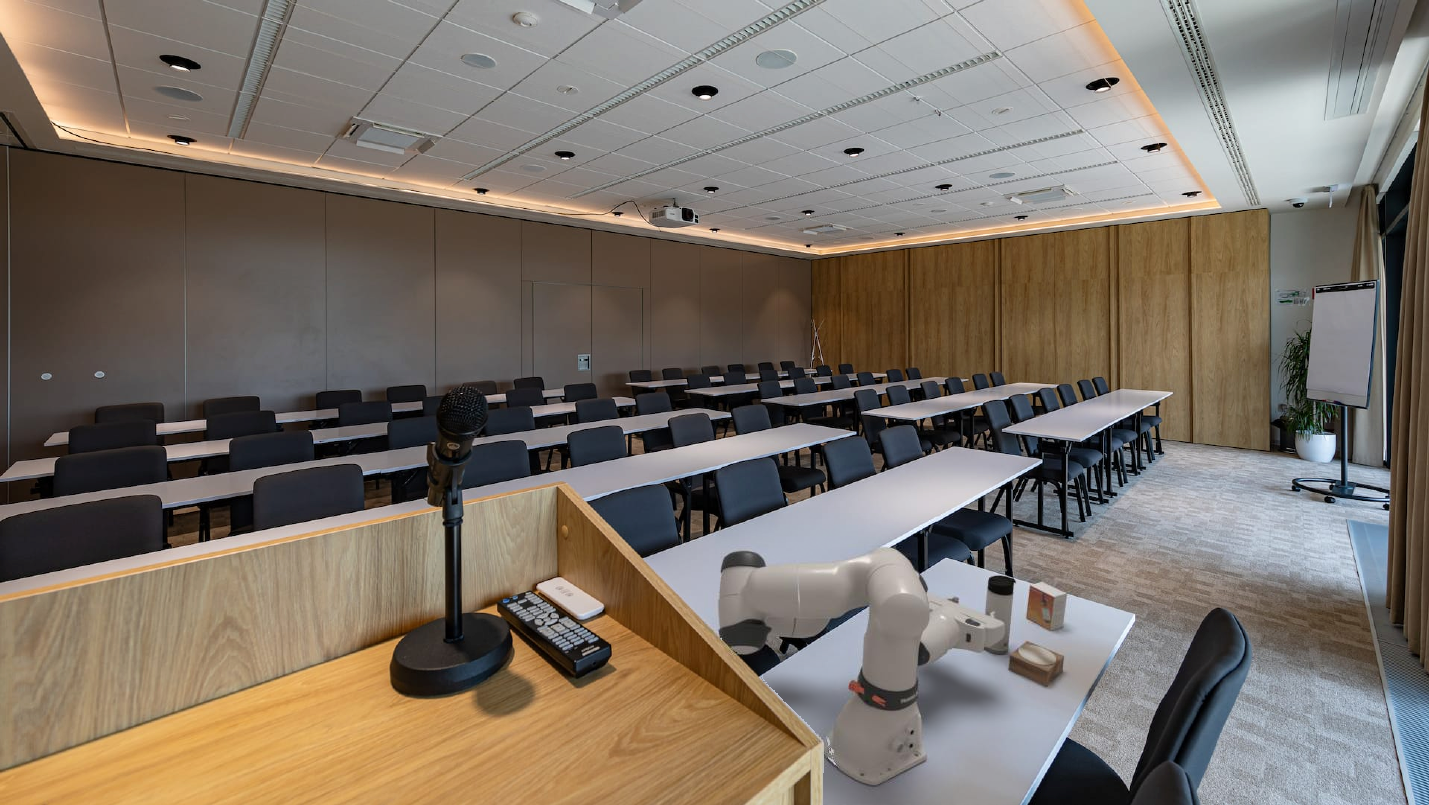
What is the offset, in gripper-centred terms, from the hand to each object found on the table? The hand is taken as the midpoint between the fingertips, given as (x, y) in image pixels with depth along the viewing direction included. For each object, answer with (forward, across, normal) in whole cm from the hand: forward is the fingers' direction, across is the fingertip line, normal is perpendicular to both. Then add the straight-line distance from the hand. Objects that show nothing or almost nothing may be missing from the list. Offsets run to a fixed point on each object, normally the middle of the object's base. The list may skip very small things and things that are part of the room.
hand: (973, 606), depth 154 cm
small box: (+35, +5, -16) cm, 39 cm away
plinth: (+9, +13, -16) cm, 22 cm away
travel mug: (+11, +2, -16) cm, 19 cm away
